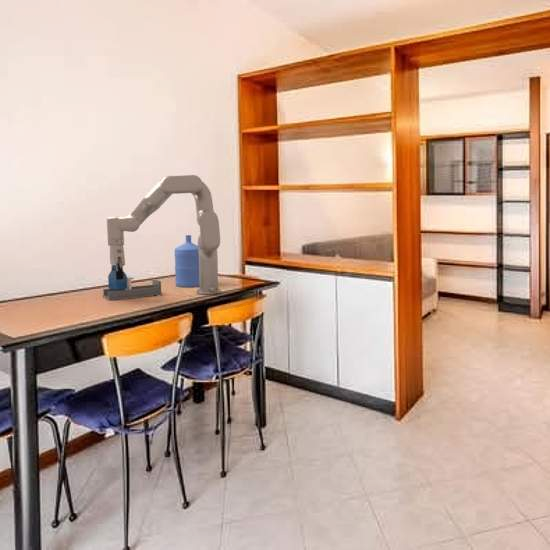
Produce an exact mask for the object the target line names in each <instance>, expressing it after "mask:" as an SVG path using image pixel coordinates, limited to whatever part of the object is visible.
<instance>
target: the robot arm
mask: <svg viewBox="0 0 550 550" xmlns="http://www.w3.org/2000/svg"><path fill="white" fill-rule="evenodd" d="M174 194H178V195H179V194H191V195H192V196H193V199H194V202H195V210H196V211H195V212H196V222H197V225H198V226H199V232H200V234H199V235H198V238H197V246H198V251H199V286H198V287H199V289H197V290H196V294H198V293H199V295H214V294H213V293H218V294H220V293H219V292H221V293H222V289H220V288H219V268H218V267H219V263H218V262H219V259H218V258H219V257H218V255H219V254H218V249H219V247H220V246H221V230H220V221H219V217H218V215H217V213H216V212H215V211H214V204H213V196H212V193H211V189H210V188H209V187H208V186H207V184H206V183H205V182H204V181H203V180H202V179H201V177H199V176H197V175H195V174H190V175H189V174H187V175H186V174H185V175H166V176H164V177H163V178H162V179H160V181H158V182H157V184H155V186H154V187H153V188H152V189H151V190H150V191H149V192H148V193H147V194H146V195H145V196H144V198H142V199H141V201H140V203H139V204H137V206H136V207H135V208H134V209H133V210H132V211H131V212H130V213H129V214H128V215H127V216H108V217H107V218H106V229H107V230H106V232H107V245H108V247H109V263H110V265H111V267H110V268H111V271H114V269H113V266H116V269H117V271H116V279H117V280H119V279H123V271H124V266H125V265H126V260H125V259H126V258H125V250H124V246H125V236H124V235H125V232H130V233H133V232H136V231H138V230H139V228H140V226H141V225H142V224H143V223H144V222H145V221H146V220H147V219H148V218H149V217H150V216H151V215H152V214H154V213H155V212H157V211H158V210H159V209H160V208H161V207H162V205H164V203H165V202H166V201H167V200H168V199H169V198H170V197H172V195H174ZM111 271H110V272H111Z"/></svg>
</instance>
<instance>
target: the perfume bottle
mask: <svg viewBox="0 0 550 550" xmlns="http://www.w3.org/2000/svg"><path fill="white" fill-rule="evenodd" d="M113 269H114V271H110V272H109V274H108V277H107V278H108V289H115V290H118V289H125V288H127V276H128V275H127V274H126V272H125V271H124V270H123V279H119V280H117V279H116V271H117V269H116V266H113Z"/></svg>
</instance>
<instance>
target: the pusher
mask: <svg viewBox="0 0 550 550" xmlns="http://www.w3.org/2000/svg"><path fill="white" fill-rule="evenodd" d="M134 279H135V277H133V276H130V275H127V288H125V290H132V286H133V285H132V280H134Z"/></svg>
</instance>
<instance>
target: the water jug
mask: <svg viewBox="0 0 550 550" xmlns="http://www.w3.org/2000/svg"><path fill="white" fill-rule="evenodd" d="M174 272H175V286H176V287H178V286H181V287H180V288H196V287H195V286H198V287H200V286H199V251H198V244H195V243H193V242H192V235H189V234H187V235H185V243H183V244H180V245H179V246H177V247H175V248H174Z"/></svg>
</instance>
